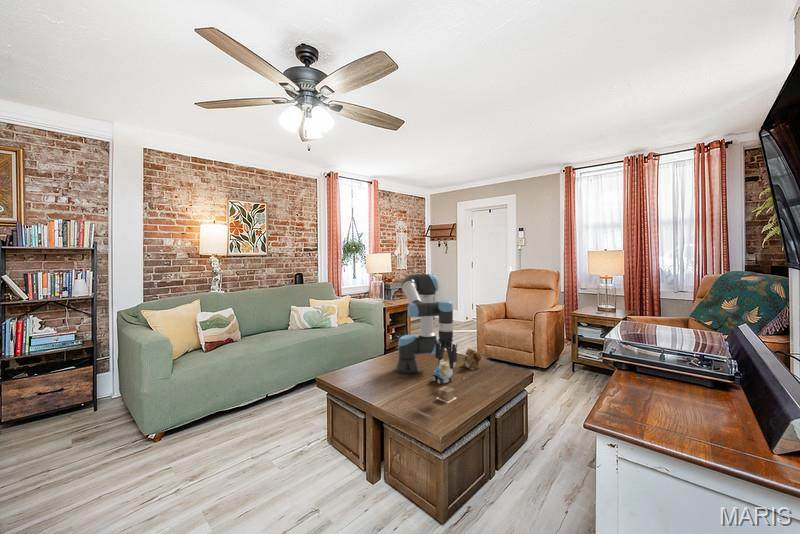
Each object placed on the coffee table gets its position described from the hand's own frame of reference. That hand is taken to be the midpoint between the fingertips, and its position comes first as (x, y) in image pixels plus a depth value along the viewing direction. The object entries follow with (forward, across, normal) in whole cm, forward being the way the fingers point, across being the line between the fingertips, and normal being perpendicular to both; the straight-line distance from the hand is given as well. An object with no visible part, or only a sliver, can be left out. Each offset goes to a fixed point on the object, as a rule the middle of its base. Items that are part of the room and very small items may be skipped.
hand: (446, 373), depth 178 cm
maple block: (+1, 0, 0) cm, 1 cm away
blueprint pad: (+15, -2, +2) cm, 15 cm away
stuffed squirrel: (+15, -18, +53) cm, 58 cm away
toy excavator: (+15, -14, +17) cm, 27 cm away
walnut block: (+14, 0, 0) cm, 14 cm away
